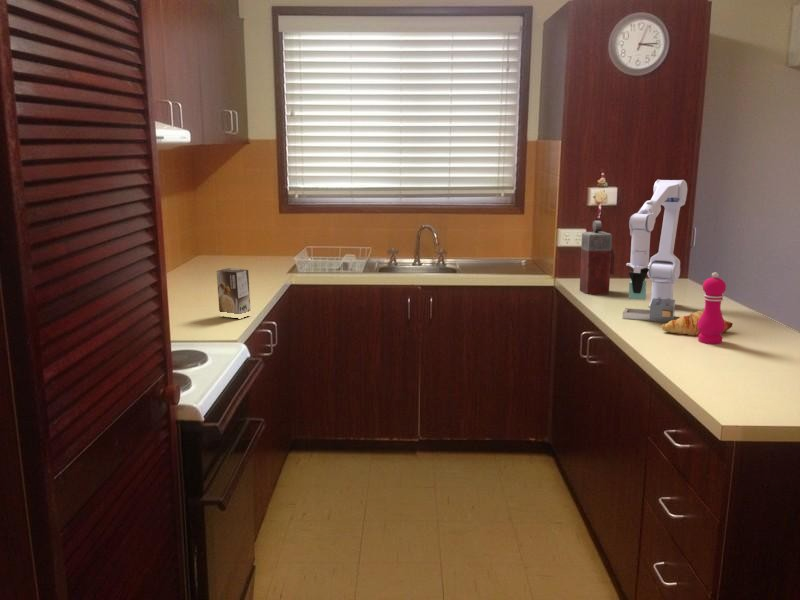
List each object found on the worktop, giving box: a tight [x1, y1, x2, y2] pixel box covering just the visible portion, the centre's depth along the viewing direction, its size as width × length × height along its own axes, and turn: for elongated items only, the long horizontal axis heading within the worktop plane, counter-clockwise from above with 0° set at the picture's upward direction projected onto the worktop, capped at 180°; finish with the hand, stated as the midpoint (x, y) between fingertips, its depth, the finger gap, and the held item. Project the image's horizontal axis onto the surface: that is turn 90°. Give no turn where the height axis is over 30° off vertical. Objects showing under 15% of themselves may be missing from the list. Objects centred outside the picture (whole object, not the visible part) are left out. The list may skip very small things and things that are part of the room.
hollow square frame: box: [621, 297, 676, 323], centre depth 232 cm, size 12×16×6 cm
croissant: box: [661, 310, 733, 336], centre depth 212 cm, size 21×10×8 cm, turn 92°
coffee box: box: [216, 267, 252, 314], centre depth 238 cm, size 9×6×16 cm
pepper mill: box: [697, 271, 727, 345], centre depth 200 cm, size 7×7×20 cm
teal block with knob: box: [628, 279, 647, 301], centre depth 233 cm, size 5×5×6 cm
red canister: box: [579, 220, 616, 295], centre depth 275 cm, size 9×11×28 cm
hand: (637, 291), depth 233 cm, fingers closed on teal block with knob, 5 cm apart
